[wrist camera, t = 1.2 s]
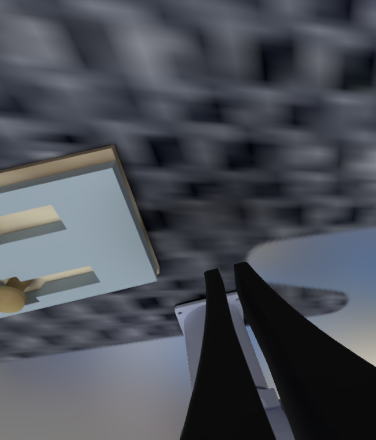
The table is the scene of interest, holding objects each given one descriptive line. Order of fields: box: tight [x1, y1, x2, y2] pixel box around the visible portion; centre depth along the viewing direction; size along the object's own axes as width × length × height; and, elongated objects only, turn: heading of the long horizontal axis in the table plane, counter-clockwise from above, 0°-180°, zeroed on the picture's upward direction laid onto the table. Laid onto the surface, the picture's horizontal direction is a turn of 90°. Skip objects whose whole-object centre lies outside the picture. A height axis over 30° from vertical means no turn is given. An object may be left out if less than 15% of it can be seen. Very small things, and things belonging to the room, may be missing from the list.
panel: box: [0, 161, 157, 318], centre depth 16 cm, size 10×14×2 cm
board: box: [0, 145, 159, 313], centre depth 16 cm, size 12×20×3 cm, turn 101°
